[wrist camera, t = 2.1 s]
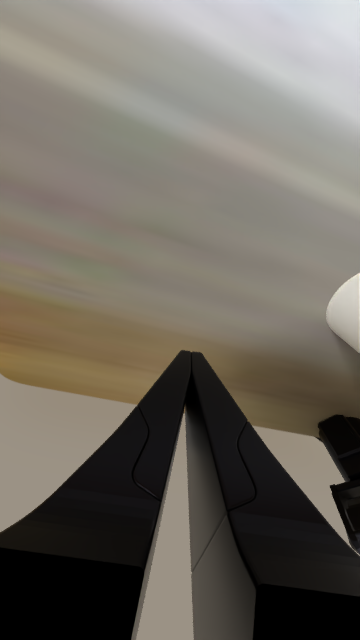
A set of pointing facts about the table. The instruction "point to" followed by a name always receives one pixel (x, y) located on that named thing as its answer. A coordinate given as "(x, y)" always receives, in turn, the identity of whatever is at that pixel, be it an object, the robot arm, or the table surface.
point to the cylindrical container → (346, 312)
